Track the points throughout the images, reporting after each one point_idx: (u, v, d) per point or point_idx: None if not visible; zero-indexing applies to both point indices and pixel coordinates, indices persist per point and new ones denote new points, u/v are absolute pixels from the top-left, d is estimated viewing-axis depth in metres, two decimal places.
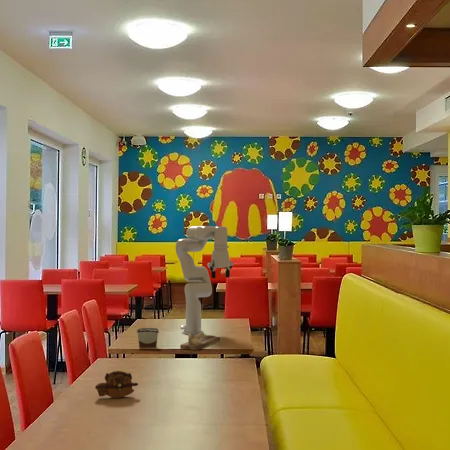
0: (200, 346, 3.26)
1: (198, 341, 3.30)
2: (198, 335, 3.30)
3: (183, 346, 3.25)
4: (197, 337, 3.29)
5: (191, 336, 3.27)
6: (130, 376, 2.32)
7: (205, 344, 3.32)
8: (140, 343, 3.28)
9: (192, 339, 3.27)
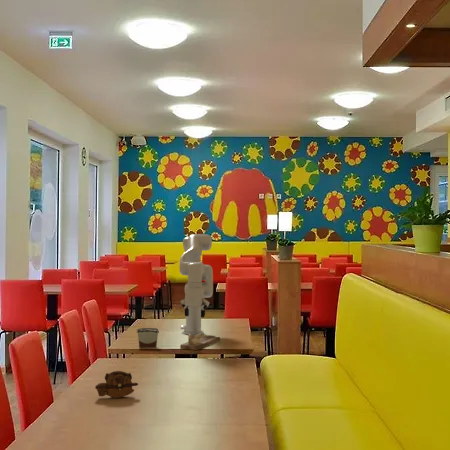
0: (200, 346, 3.26)
1: (198, 341, 3.30)
2: (198, 335, 3.30)
3: (183, 346, 3.25)
4: (197, 337, 3.29)
5: (191, 336, 3.27)
6: (130, 376, 2.32)
7: (205, 344, 3.32)
8: (140, 343, 3.28)
9: (192, 339, 3.27)
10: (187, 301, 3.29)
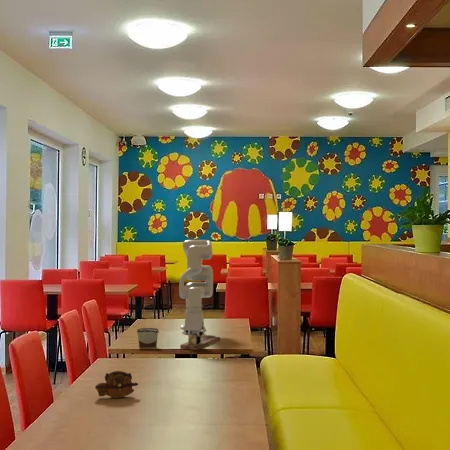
0: (200, 346, 3.26)
1: None
2: None
3: (183, 346, 3.25)
4: None
5: (191, 336, 3.27)
6: (130, 376, 2.32)
7: (205, 344, 3.32)
8: (140, 343, 3.28)
9: (192, 339, 3.27)
10: (187, 325, 3.29)
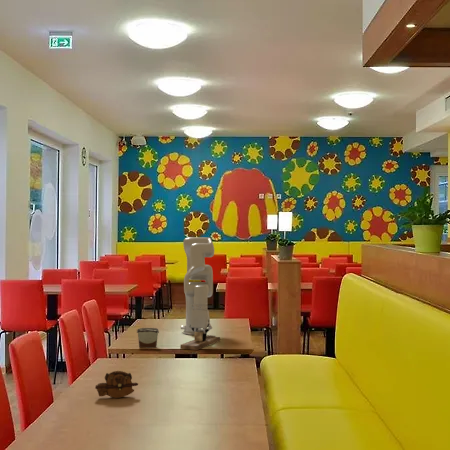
0: (200, 346, 3.26)
1: None
2: None
3: (183, 346, 3.25)
4: None
5: (197, 333, 3.34)
6: (130, 376, 2.32)
7: (205, 344, 3.32)
8: (140, 343, 3.28)
9: (198, 336, 3.34)
10: (193, 323, 3.36)
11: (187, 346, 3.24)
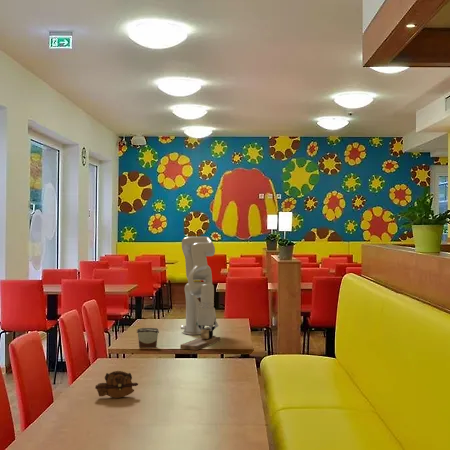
0: (200, 346, 3.26)
1: None
2: None
3: (183, 346, 3.25)
4: None
5: (204, 331, 3.42)
6: (130, 376, 2.32)
7: (205, 344, 3.32)
8: (140, 343, 3.28)
9: (205, 333, 3.42)
10: (200, 320, 3.44)
11: (187, 346, 3.24)
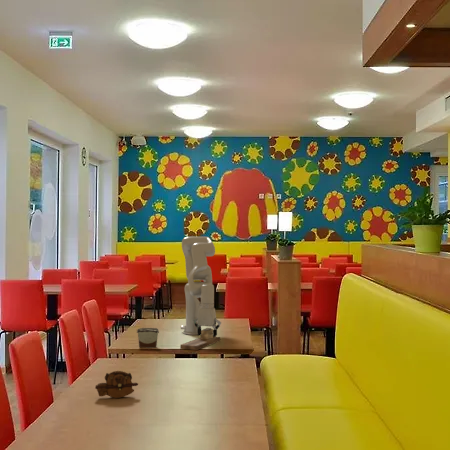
0: (200, 346, 3.26)
1: (210, 336, 3.45)
2: (210, 331, 3.45)
3: (183, 346, 3.25)
4: (210, 332, 3.44)
5: (204, 331, 3.42)
6: (130, 376, 2.32)
7: (205, 344, 3.32)
8: (140, 343, 3.28)
9: (205, 334, 3.42)
10: (200, 321, 3.44)
11: (187, 346, 3.24)
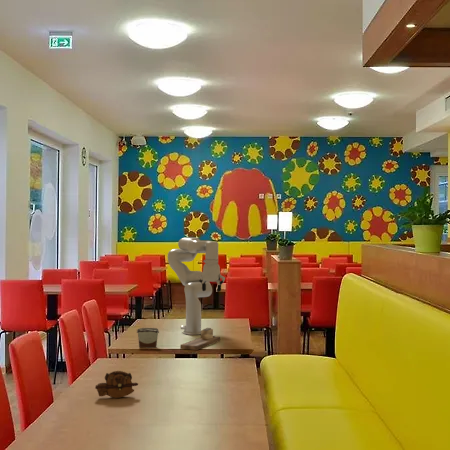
0: (200, 346, 3.26)
1: (210, 336, 3.45)
2: (210, 331, 3.45)
3: (183, 346, 3.25)
4: (210, 332, 3.44)
5: (204, 331, 3.42)
6: (130, 376, 2.32)
7: (205, 344, 3.32)
8: (140, 343, 3.28)
9: (205, 334, 3.42)
10: (204, 277, 3.54)
11: (187, 346, 3.24)
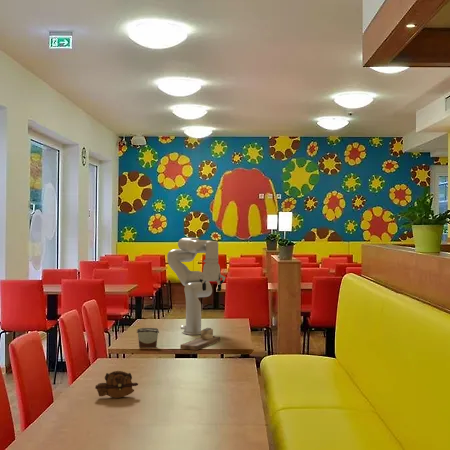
0: (200, 346, 3.26)
1: (210, 336, 3.45)
2: (210, 331, 3.45)
3: (183, 346, 3.25)
4: (210, 332, 3.44)
5: (204, 331, 3.42)
6: (130, 376, 2.32)
7: (205, 344, 3.32)
8: (140, 343, 3.28)
9: (205, 334, 3.42)
10: (205, 276, 3.54)
11: (187, 346, 3.24)
